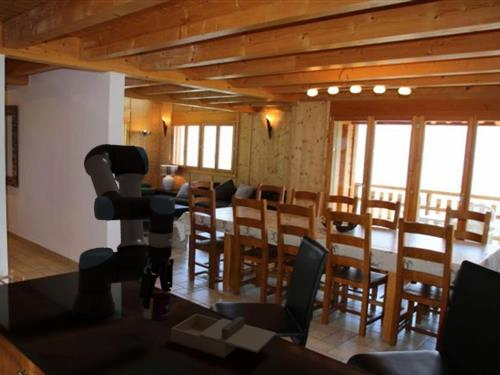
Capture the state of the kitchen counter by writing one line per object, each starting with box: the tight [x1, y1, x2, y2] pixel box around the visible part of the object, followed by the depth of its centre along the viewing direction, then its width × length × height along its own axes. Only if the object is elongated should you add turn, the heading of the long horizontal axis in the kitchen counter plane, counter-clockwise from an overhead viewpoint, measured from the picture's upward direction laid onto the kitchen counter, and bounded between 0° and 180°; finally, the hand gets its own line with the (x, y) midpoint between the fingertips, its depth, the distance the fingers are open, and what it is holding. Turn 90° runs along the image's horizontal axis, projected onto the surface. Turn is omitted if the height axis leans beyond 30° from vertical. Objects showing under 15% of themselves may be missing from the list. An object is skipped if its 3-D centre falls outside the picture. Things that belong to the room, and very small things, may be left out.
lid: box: [199, 316, 277, 353], centre depth 139 cm, size 20×15×4 cm
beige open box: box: [169, 313, 238, 359], centre depth 144 cm, size 20×15×4 cm
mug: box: [142, 292, 172, 322], centre depth 140 cm, size 7×10×7 cm
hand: (154, 313), depth 140 cm, fingers closed on mug, 7 cm apart
